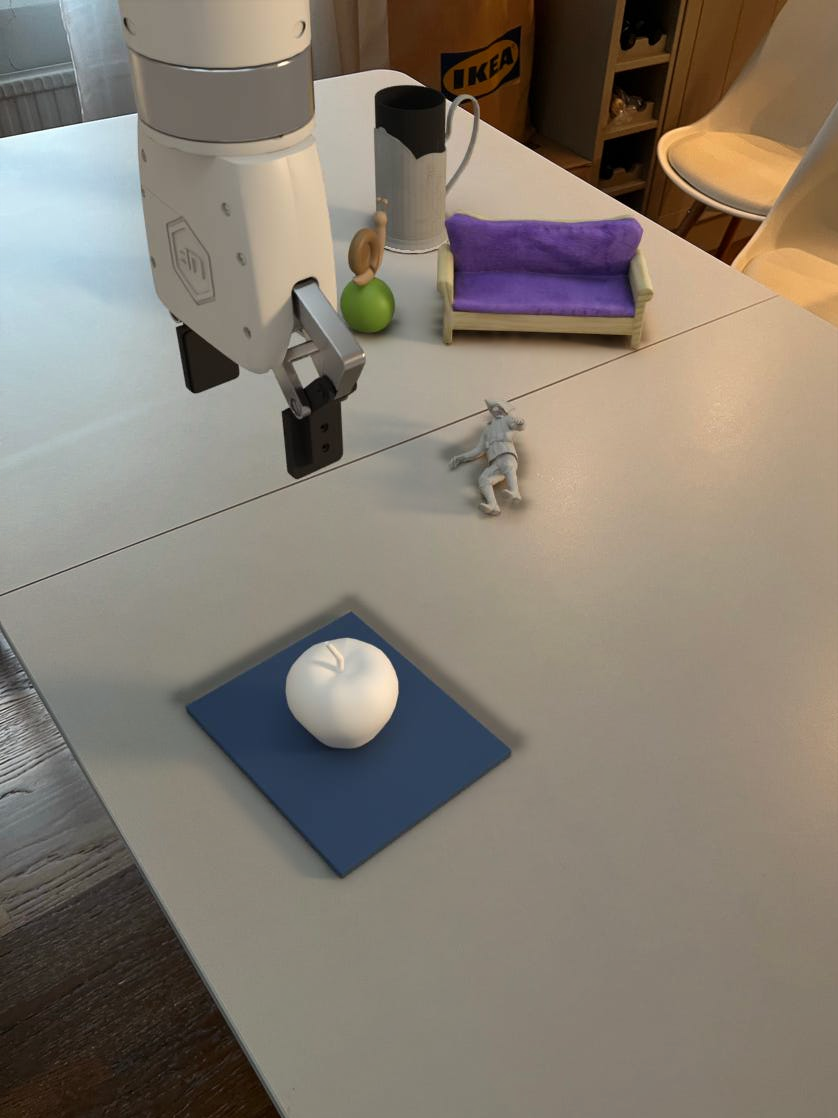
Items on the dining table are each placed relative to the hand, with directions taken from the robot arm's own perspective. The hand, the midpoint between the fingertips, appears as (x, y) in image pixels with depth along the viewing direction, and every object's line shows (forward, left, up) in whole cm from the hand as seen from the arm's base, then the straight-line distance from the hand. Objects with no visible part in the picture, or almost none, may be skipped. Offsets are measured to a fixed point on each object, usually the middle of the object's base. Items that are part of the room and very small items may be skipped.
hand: (262, 423), depth 56 cm
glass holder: (+53, +47, -22) cm, 74 cm away
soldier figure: (+27, +8, -22) cm, 35 cm away
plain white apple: (0, -6, -21) cm, 22 cm away
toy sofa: (+47, +23, -22) cm, 57 cm away
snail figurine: (+34, +34, -22) cm, 53 cm away
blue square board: (0, -6, -21) cm, 22 cm away
